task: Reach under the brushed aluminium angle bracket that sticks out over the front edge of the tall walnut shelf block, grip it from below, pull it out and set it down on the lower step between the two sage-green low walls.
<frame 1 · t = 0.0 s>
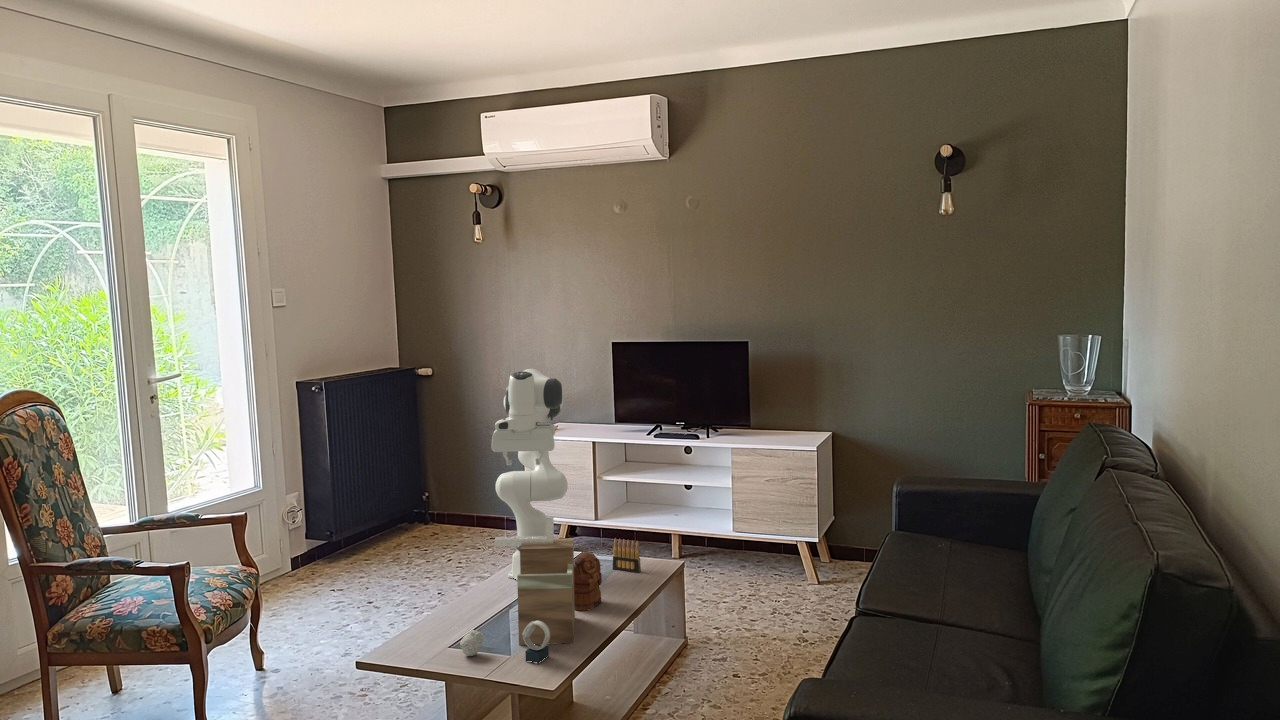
hand: (523, 464, 285), 48 cm above the table, tool pointing down, fingers open, 8 cm apart
ammunition clip: (626, 571, 326), on the table
white rough round lump: (471, 655, 254), on the table
aluminium bracket: (524, 544, 273), point 26 cm above the table, touching stepped shelf
wooden figurine: (587, 606, 291), on the table
watch: (536, 659, 251), on the table
stepped shelf: (547, 630, 271), on the table
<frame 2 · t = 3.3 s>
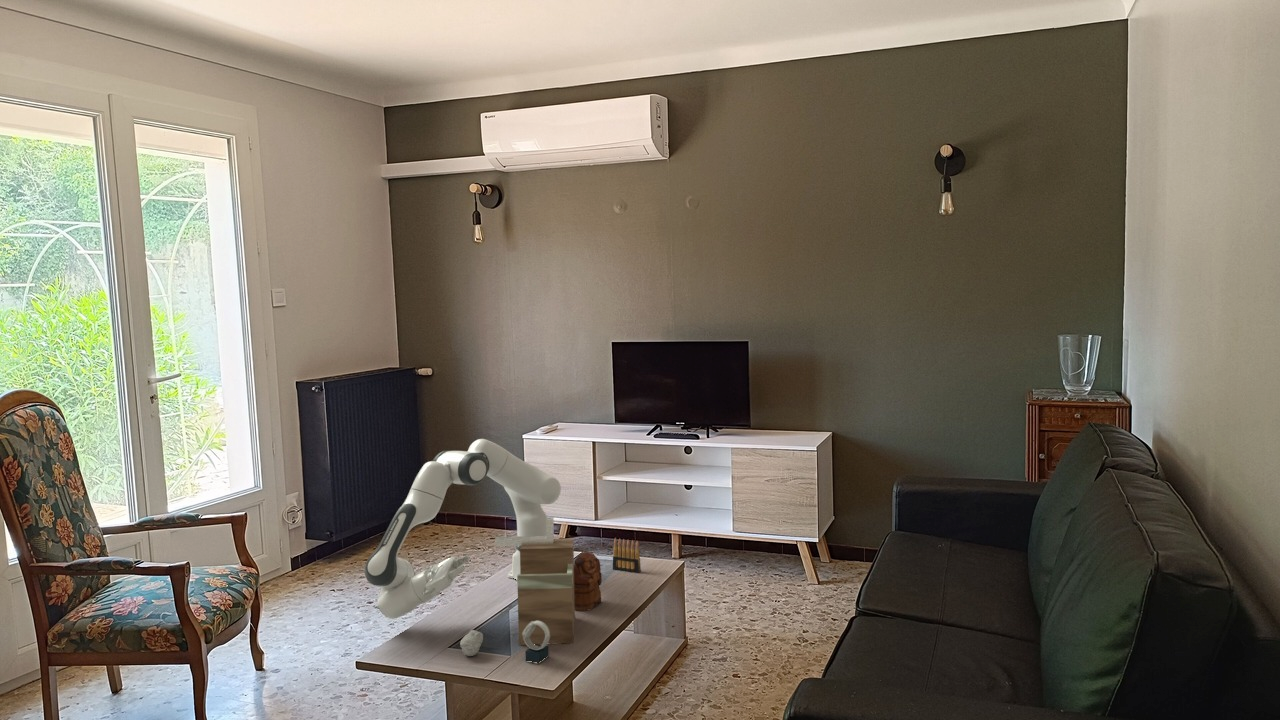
hand: (466, 562, 273), 21 cm above the table, tool pointing upward, fingers open, 8 cm apart
nothing on the table moved.
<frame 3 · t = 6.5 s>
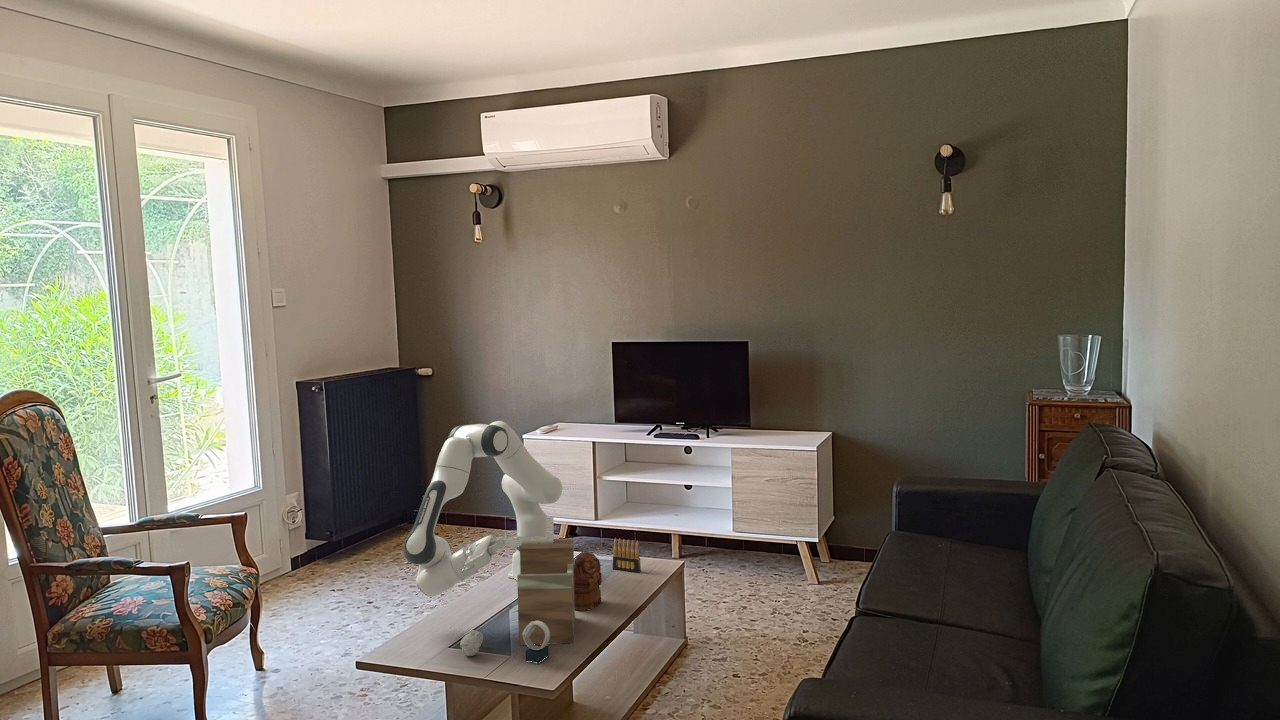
hand: (504, 539, 273), 27 cm above the table, tool pointing upward, fingers closed on aluminium bracket, 3 cm apart
aluminium bracket: (524, 544, 273), point 26 cm above the table, touching gripper, stepped shelf
everything else where it was.
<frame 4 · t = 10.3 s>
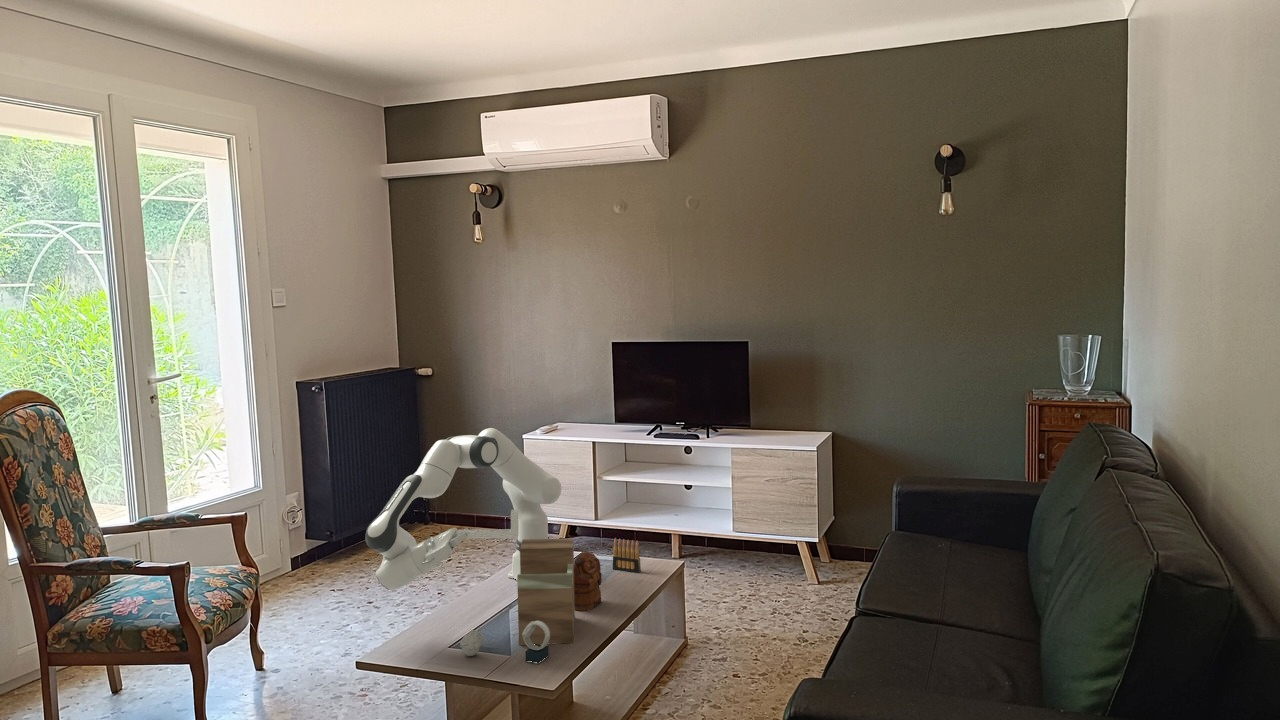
hand: (467, 532, 265), 32 cm above the table, tool pointing upward, fingers closed on aluminium bracket, 3 cm apart
aluminium bracket: (488, 537, 266), point 30 cm above the table, touching gripper
everything else where it was.
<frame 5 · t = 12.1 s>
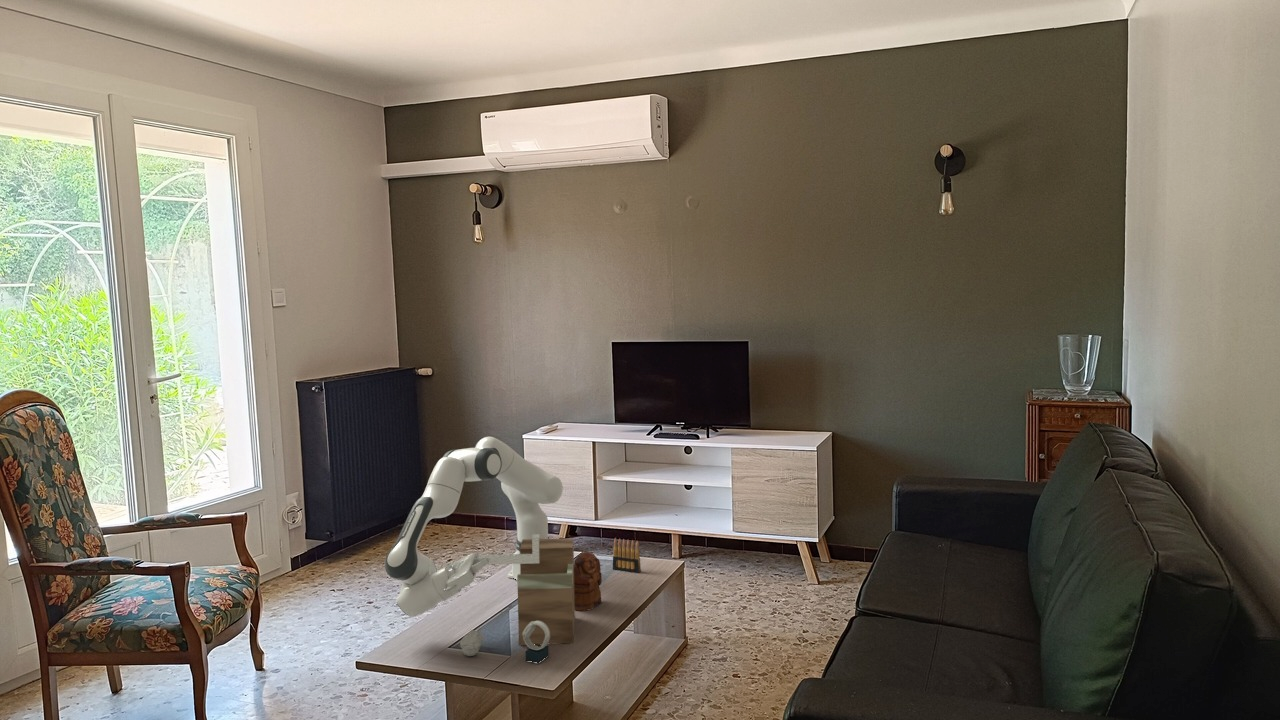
hand: (488, 558, 263), 25 cm above the table, tool pointing upward, fingers closed on aluminium bracket, 3 cm apart
aluminium bracket: (509, 562, 263), point 24 cm above the table, touching gripper
everything else where it was.
when the fingers open (19 cm above the table, at t = 13.7 s): aluminium bracket drops 1 cm, resting on stepped shelf.
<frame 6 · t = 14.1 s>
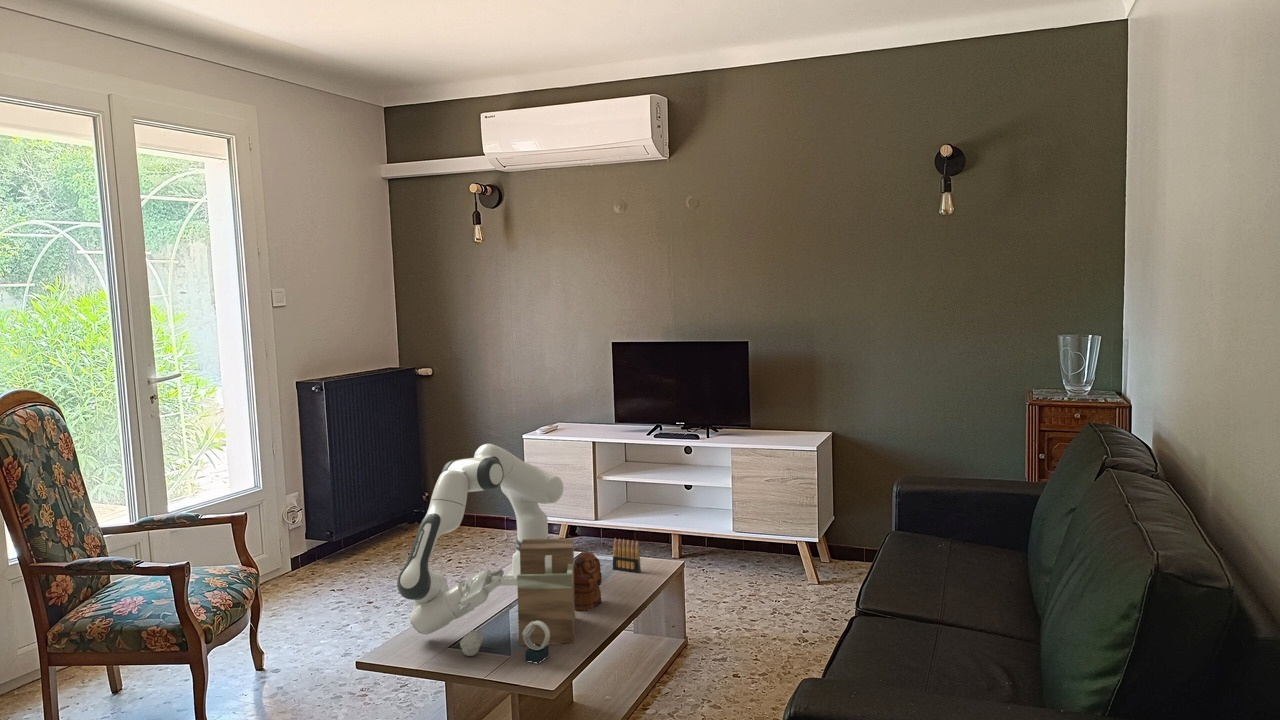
hand: (501, 576, 264), 19 cm above the table, tool pointing upward, fingers open, 7 cm apart
aluminium bracket: (522, 583, 264), point 17 cm above the table, touching stepped shelf
everything else where it was.
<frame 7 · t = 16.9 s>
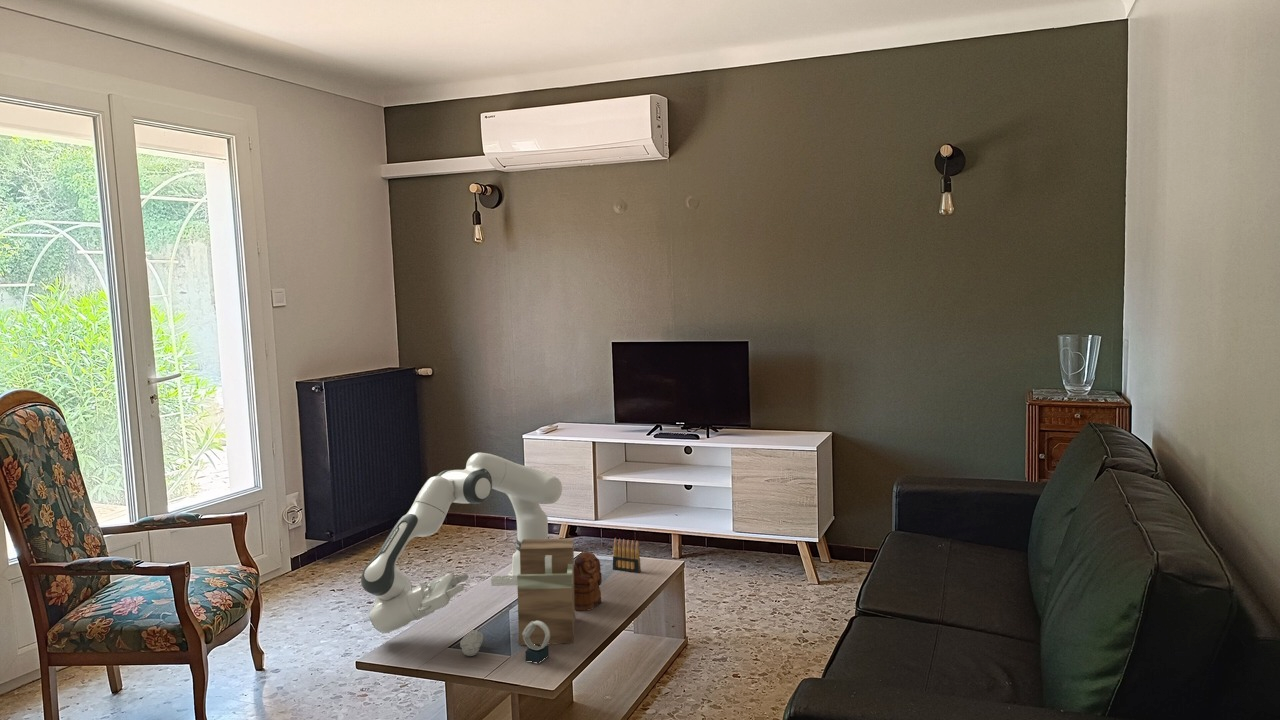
hand: (465, 581, 264), 18 cm above the table, tool pointing upward, fingers open, 8 cm apart
nothing on the table moved.
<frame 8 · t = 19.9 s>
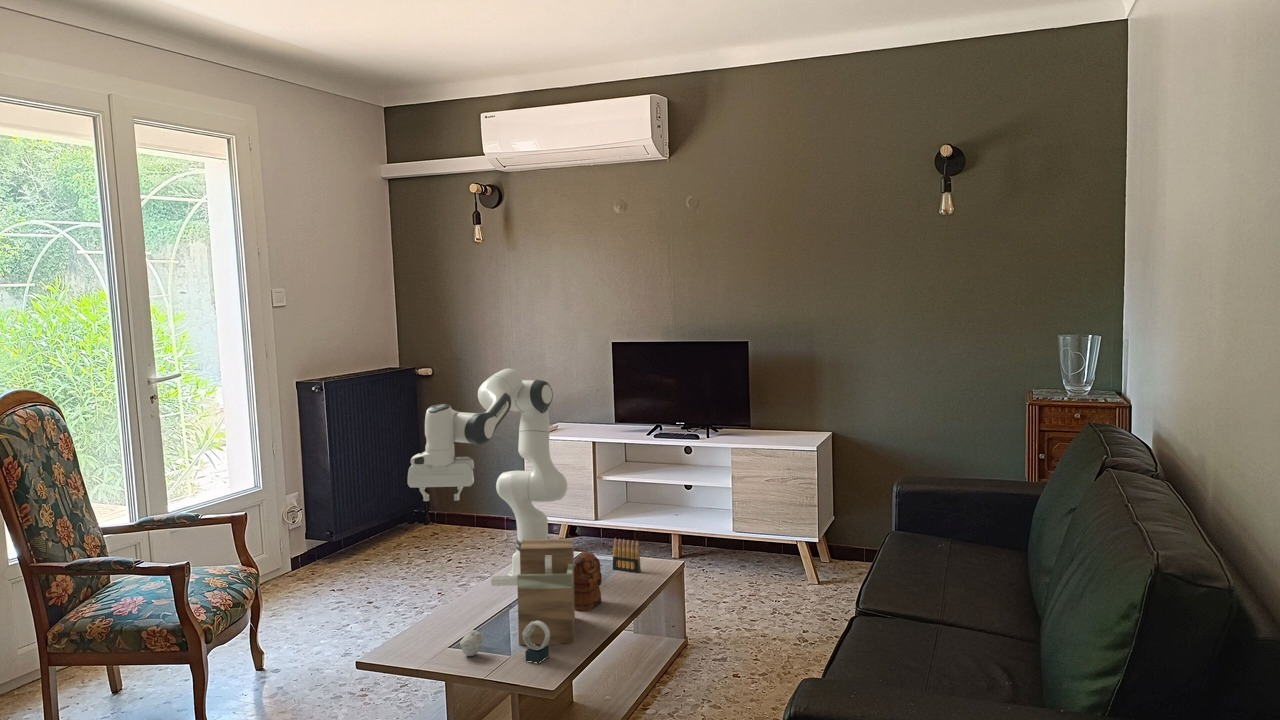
hand: (441, 500, 276), 39 cm above the table, tool pointing down, fingers open, 8 cm apart
nothing on the table moved.
at the end: aluminium bracket inside the target area (0.1 cm from its centre), point 17.0 cm above the table; aluminium bracket tilted 0°; the gripper is holding nothing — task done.
